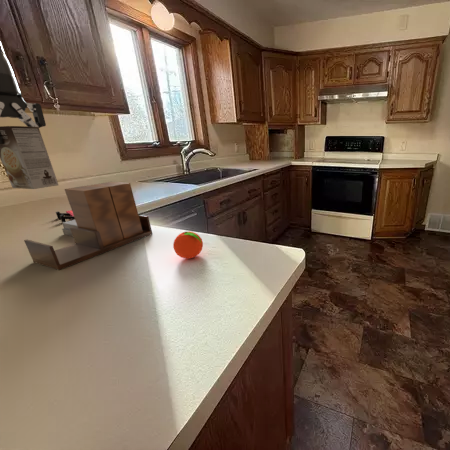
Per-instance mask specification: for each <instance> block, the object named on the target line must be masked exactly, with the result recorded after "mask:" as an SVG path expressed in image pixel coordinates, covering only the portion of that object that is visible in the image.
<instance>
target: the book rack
mask: <svg viewBox="0 0 450 450" xmlns="http://www.w3.org/2000/svg"><path fill="white" fill-rule="evenodd" d="M64 192H65V195H66V198H67V201H68V204H69V206H70V210H72V212H73V215H74V218H75V219H74V220H75V221H76V223H77V226H78V227H71V228H70V230H71V232H72V235H73V236H72V237H73V240H74V244H70V245H67V246H64V247H61V248H58V249H54V246H53V245H50V244H46V243H42V242H38V241H35V240H31V239H24V241H23V242H24V243H25V246H26V248H27V250H28V253H29V254H30V255H29V256H30V257H31V259H32V262H33V263H35V264H39V265H42V266H45V267H48V268H51V269H54V270H58V271H60V270H63V269H66V268H68V267H70V266H71V267H72V266H73V265H76V264H79V263H81V262H83V261H86V260H89V259H92V258H94V257H96V256H99V255H102V254H104V253H108V252H109V251H112V250H114V249H117V248H120V247H122V246H125V245H127V244H130V243H132V242H135V241H138V240H141V239H143V238H146V237H148V236H151V235H153V230H152V226H151V222H150V218H149V215H143V214H139V213H138V208H137V204H136V201H135V197H134V192H133V188H132V185H131V182H123V181H108V182H101V183H95V184H90V185H88V184H87V185H82V186H76V187H69V188H64ZM150 234H151V235H150ZM145 236H146V237H145Z"/></svg>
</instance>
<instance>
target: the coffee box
mask: <svg viewBox="0 0 450 450" xmlns="http://www.w3.org/2000/svg"><path fill="white" fill-rule="evenodd" d="M0 135H1V138H2V140H3V143H4V144H0V161H1V164H2V166H3V168H4V172H5V173H6V176H7V178H8V181H9V183H10V185H11V187H12V189H23V190H37V189H38V190H39V189H44V188H50V187H57V186H59V182H58V180H57V176H56V173H55V170H54V167H53V165H52V161H51V159H50V156H49V153H48V150H47V147H46V144H45V142H44V139H43V135H42V132H41V130H40V128H39V127H28V126H26V125H24V126H23V125H21V126H20V125H6V126H5V125H3V126H1V125H0Z"/></svg>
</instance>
